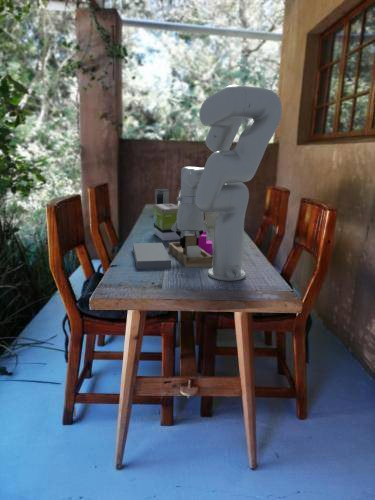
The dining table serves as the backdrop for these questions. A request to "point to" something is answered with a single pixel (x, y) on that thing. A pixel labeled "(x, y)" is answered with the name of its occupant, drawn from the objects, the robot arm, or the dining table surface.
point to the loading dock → (151, 256)
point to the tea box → (165, 221)
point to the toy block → (205, 243)
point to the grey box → (193, 251)
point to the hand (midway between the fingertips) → (189, 246)
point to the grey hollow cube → (161, 196)
